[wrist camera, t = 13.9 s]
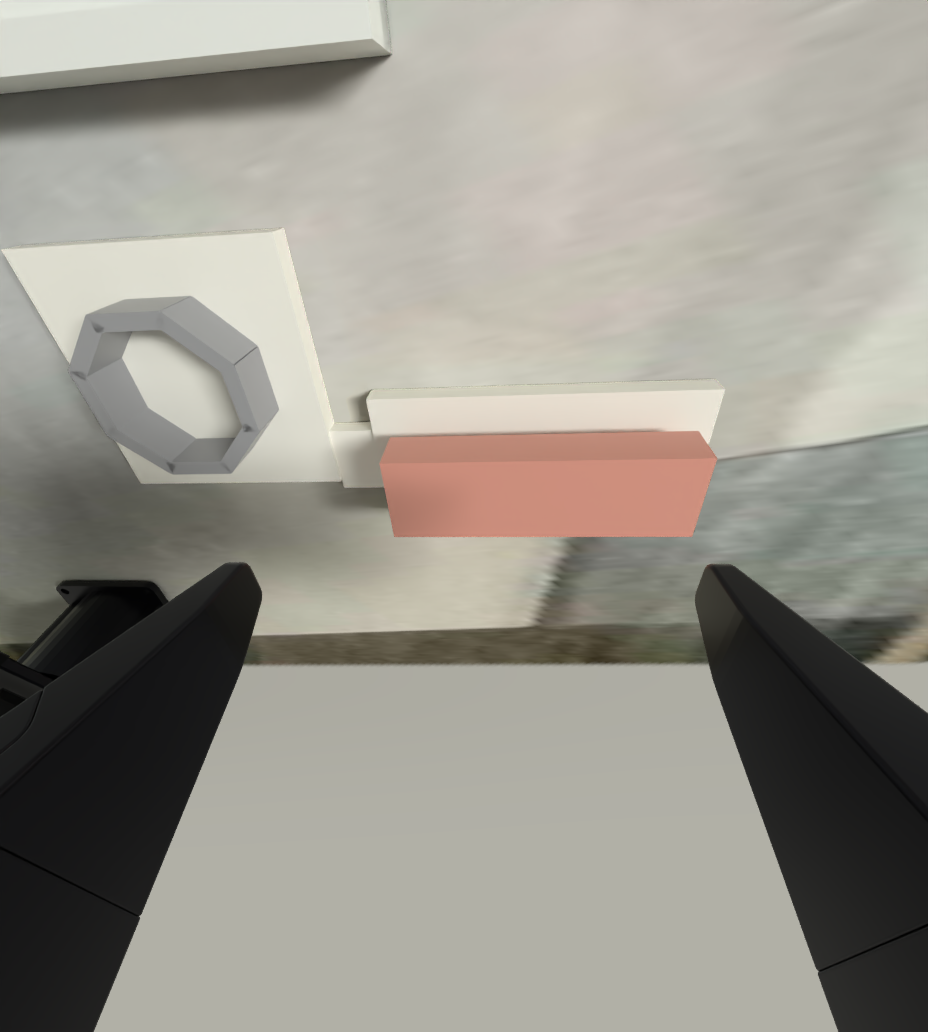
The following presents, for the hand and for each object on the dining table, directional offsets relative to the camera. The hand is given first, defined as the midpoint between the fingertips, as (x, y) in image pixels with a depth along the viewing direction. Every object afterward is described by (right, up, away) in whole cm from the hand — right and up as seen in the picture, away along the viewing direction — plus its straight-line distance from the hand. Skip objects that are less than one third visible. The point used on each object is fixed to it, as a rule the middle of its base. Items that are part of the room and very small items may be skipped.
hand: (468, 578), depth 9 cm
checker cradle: (-3, +7, +10) cm, 13 cm away
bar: (+3, +3, +10) cm, 11 cm away
